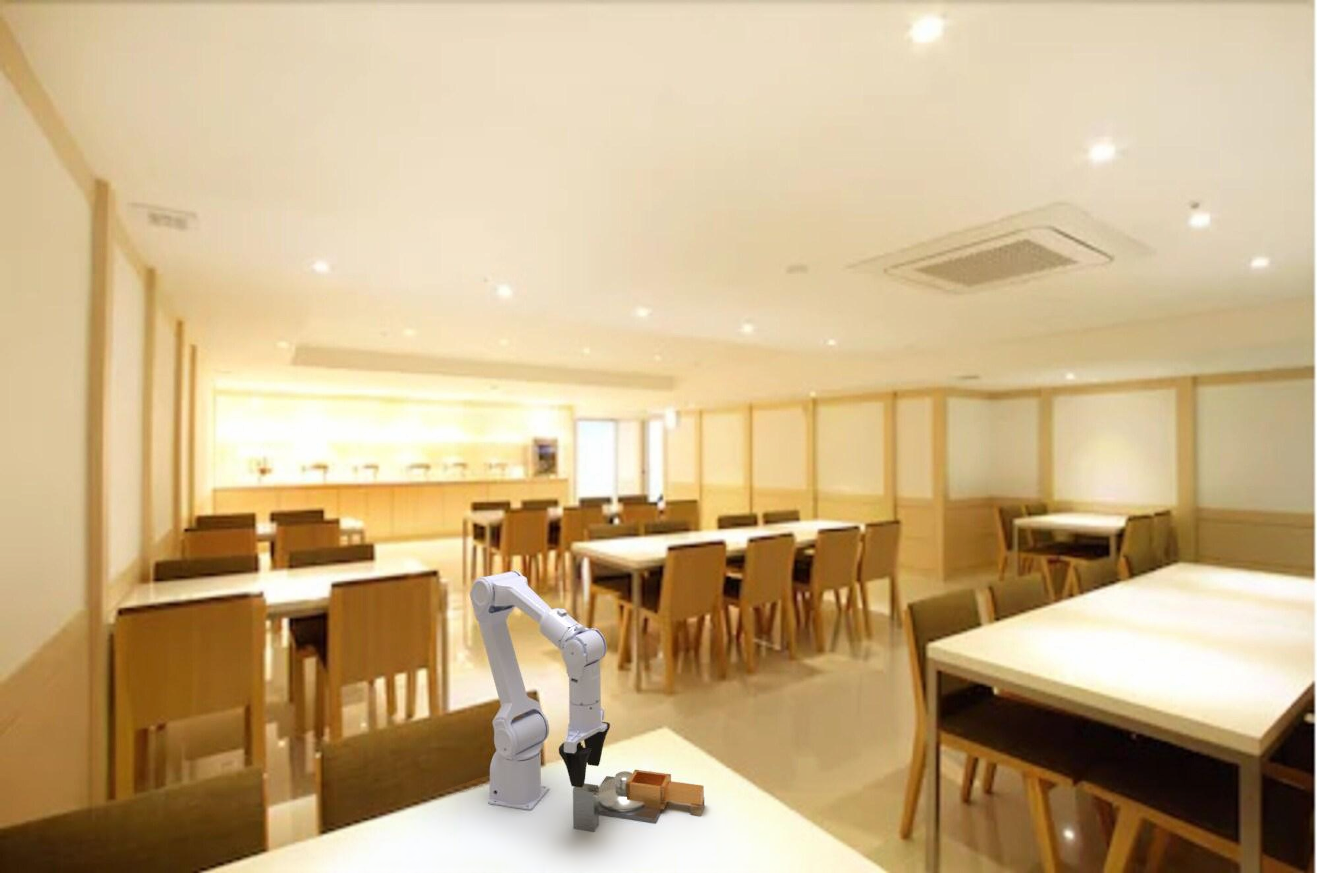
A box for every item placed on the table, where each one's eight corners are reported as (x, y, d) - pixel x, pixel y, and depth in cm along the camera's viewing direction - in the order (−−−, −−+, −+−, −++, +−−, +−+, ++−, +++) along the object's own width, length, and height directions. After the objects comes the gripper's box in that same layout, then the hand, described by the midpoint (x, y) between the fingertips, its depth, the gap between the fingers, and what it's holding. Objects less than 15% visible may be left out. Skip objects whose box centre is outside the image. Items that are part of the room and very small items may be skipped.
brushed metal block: (573, 828, 111) (572, 789, 111) (578, 820, 113) (578, 782, 113) (593, 832, 110) (593, 792, 110) (598, 824, 112) (598, 785, 112)
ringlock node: (584, 812, 116) (584, 787, 116) (606, 779, 127) (606, 757, 128) (695, 829, 110) (695, 803, 110) (708, 793, 122) (708, 770, 122)
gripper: (590, 717, 104) (591, 799, 104) (618, 686, 118) (619, 758, 118) (552, 713, 106) (553, 793, 106) (584, 683, 120) (585, 754, 120)
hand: (585, 774), depth 112 cm, fingers open, 7 cm apart
